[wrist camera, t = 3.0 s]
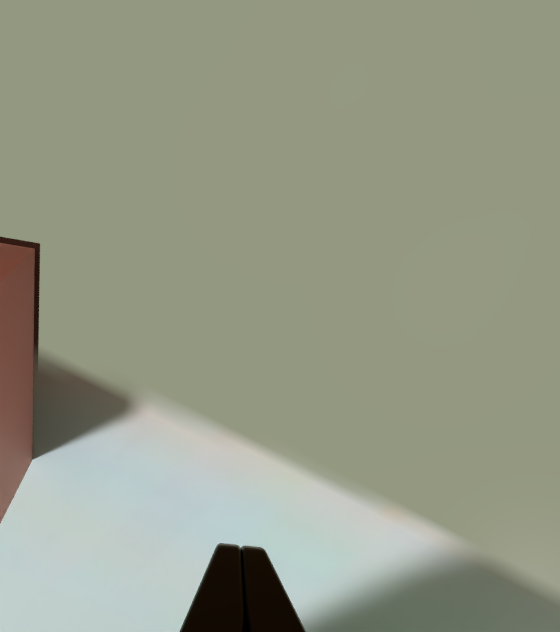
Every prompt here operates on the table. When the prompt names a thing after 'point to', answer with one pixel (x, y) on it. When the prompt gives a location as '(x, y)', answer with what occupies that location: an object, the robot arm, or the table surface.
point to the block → (17, 360)
